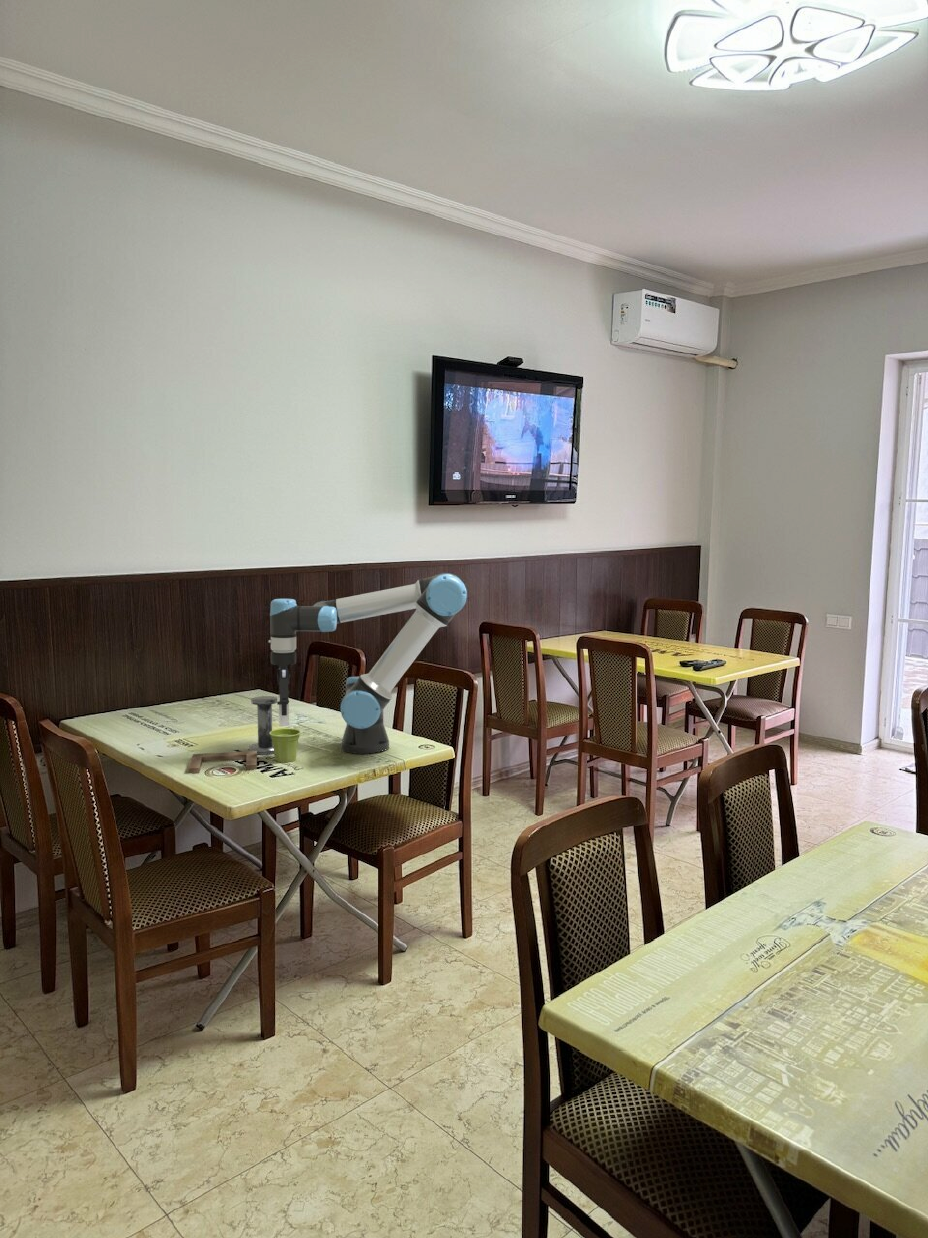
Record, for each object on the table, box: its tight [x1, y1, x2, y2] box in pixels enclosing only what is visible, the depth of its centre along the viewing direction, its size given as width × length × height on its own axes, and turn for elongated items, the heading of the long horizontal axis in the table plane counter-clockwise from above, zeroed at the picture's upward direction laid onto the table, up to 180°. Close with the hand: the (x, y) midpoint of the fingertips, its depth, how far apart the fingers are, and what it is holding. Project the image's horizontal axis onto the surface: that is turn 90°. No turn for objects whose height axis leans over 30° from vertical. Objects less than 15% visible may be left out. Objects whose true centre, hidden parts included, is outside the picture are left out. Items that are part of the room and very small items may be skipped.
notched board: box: [187, 750, 258, 774], centre depth 263 cm, size 19×16×2 cm
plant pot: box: [269, 727, 302, 764], centre depth 268 cm, size 9×9×9 cm
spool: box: [248, 695, 279, 756], centre depth 278 cm, size 10×10×17 cm
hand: (283, 720), depth 267 cm, fingers open, 13 cm apart
